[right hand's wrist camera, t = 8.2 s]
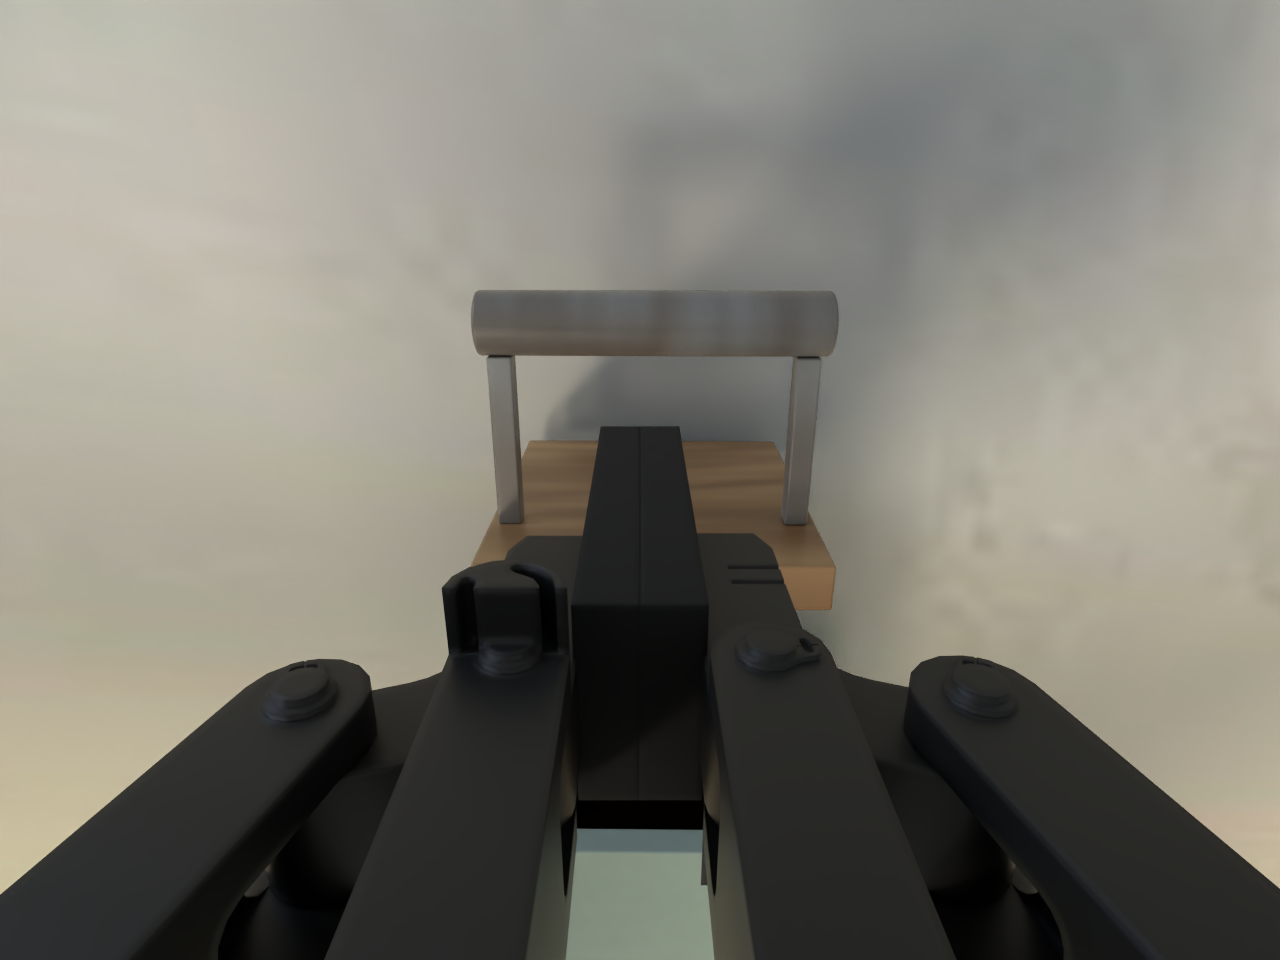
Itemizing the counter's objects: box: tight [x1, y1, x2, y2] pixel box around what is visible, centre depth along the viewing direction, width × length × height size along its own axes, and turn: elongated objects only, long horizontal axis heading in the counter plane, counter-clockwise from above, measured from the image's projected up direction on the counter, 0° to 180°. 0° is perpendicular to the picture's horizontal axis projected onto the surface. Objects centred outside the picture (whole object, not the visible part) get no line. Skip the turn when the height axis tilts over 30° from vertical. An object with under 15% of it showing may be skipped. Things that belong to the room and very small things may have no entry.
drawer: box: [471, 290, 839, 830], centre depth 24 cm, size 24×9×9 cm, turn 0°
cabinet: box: [566, 829, 714, 960], centre depth 28 cm, size 19×10×11 cm, turn 0°
